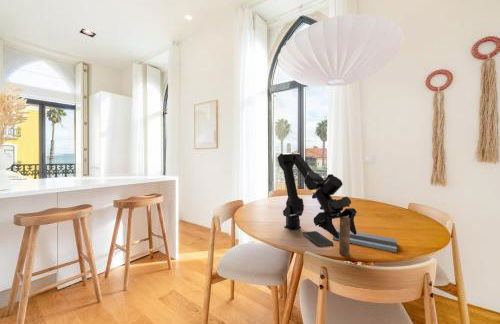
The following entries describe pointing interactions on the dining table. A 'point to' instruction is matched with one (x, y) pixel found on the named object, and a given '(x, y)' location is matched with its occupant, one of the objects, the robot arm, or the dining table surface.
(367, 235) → the stand
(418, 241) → the dining table surface
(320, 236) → the phone
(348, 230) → the walnut dowel
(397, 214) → the dining table surface
